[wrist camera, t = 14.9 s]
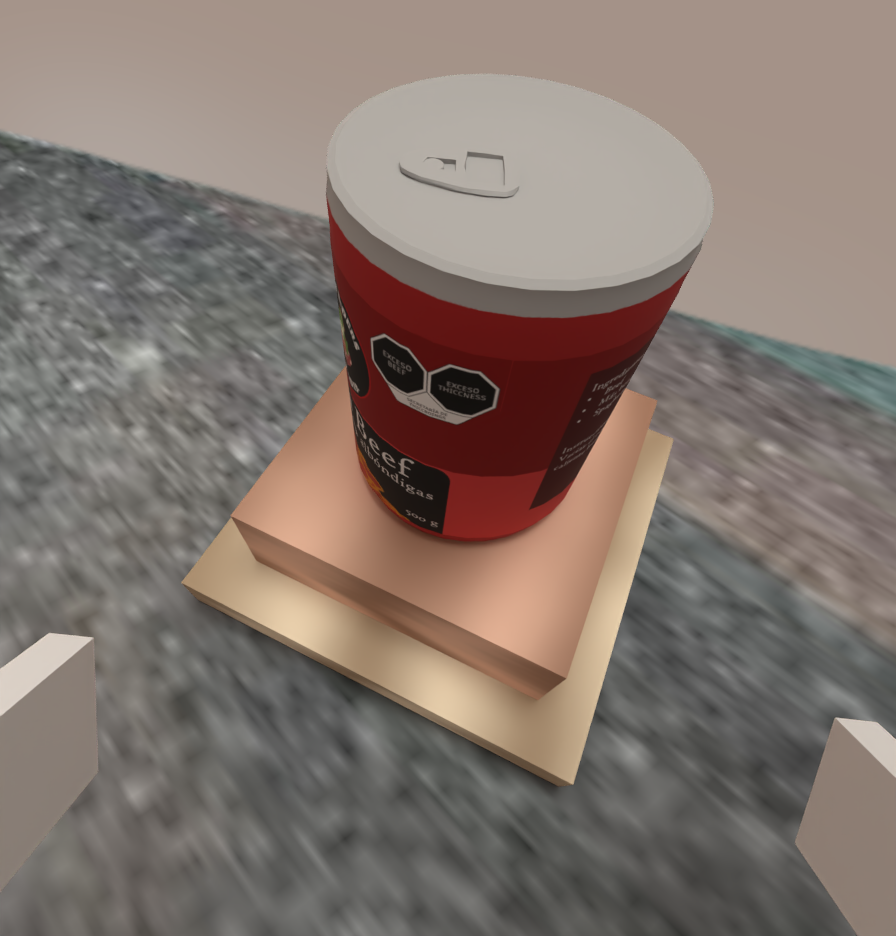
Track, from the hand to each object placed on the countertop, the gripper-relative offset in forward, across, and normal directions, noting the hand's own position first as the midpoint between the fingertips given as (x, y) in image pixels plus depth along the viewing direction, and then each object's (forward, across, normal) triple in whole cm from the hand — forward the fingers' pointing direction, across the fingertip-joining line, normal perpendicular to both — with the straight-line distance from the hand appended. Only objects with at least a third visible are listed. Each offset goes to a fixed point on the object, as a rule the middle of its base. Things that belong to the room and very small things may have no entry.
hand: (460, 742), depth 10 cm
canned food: (+12, 0, +3) cm, 12 cm away
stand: (+16, 0, -1) cm, 16 cm away
